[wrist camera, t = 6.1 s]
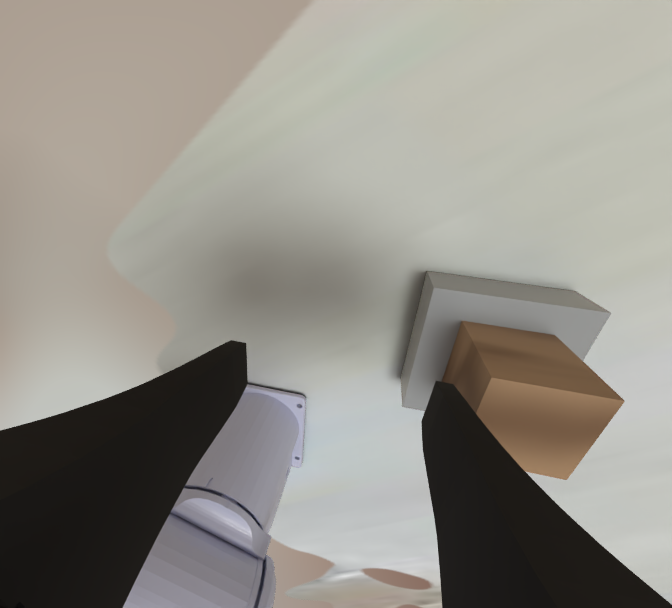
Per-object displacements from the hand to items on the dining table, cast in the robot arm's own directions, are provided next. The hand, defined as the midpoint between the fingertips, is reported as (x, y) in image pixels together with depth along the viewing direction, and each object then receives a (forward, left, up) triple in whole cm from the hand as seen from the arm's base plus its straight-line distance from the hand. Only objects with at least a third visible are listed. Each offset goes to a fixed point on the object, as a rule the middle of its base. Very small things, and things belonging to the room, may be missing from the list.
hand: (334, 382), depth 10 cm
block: (-2, -9, -7) cm, 11 cm away
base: (-3, -9, -10) cm, 13 cm away
